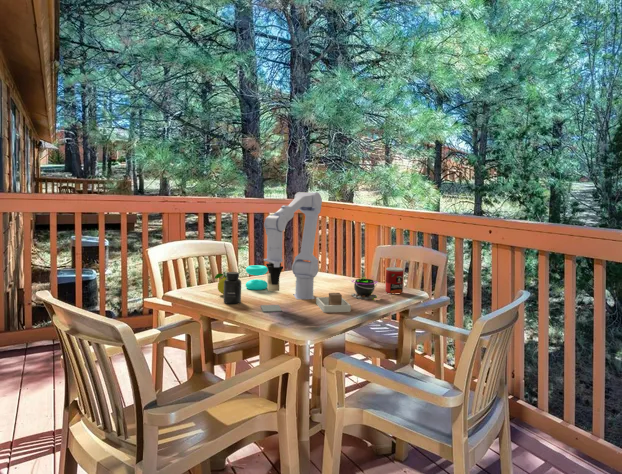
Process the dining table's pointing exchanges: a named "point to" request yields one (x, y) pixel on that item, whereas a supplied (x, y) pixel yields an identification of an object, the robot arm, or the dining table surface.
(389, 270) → the canned food
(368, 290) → the toy cauldron
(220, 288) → the pear
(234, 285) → the supplement bottle
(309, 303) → the dining table surface
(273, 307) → the rubber mat
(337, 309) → the parts bin
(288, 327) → the dining table surface
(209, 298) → the dining table surface
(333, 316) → the dining table surface
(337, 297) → the walnut block
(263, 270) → the donuts
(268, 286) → the birch block
